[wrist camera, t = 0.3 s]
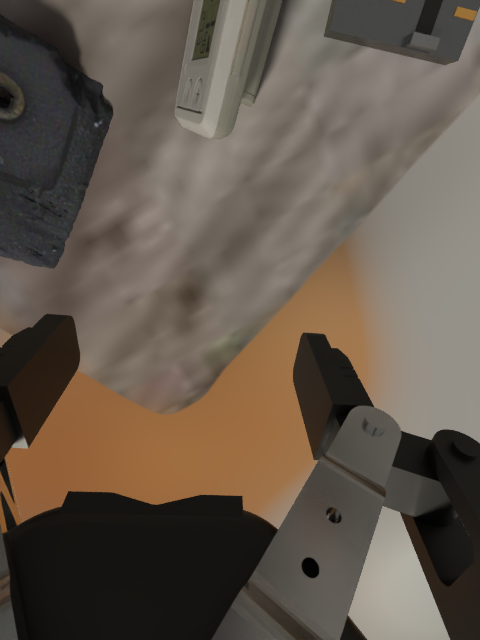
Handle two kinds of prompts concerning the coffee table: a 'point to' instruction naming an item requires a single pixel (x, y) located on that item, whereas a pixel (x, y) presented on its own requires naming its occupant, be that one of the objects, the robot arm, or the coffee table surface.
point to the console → (405, 26)
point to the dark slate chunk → (44, 146)
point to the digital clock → (223, 62)
